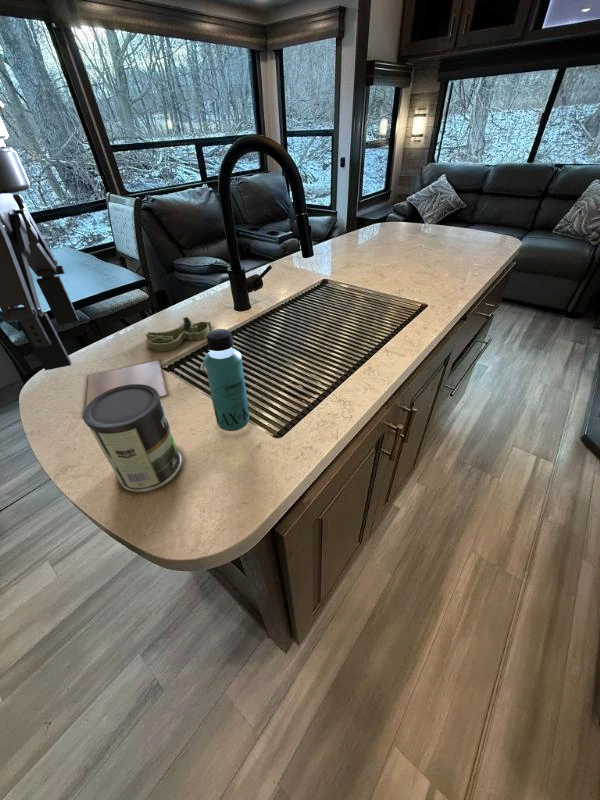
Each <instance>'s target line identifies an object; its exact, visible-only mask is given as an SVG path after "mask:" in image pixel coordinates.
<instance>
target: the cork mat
mask: <svg viewBox="0 0 600 800" xmlns="http://www.w3.org/2000/svg"><path fill="white" fill-rule="evenodd" d="M129 384H144V385H148V386H151V387H153V388H155V389H156V390H157V391H158V393H159V395H160V398H162V397H167V391H166V386H165V382H164V378H163V374H162V368H161V364H160V360H159V359H158V360H154V361H150V362H149V361H148V362H145V363H140V364H136V365H132V366H126V367H122V368H117V369H112V370H108V371H104V372H103V371H102V372H99V373H94V374H89V375H88V378H87V390H86V401H85V407H86V406H87V405H88V404H89V403H90V402H91V401H92V400H93V399H94V398H96V397H97V396H99V395H100V394H102V393H104V392H106V391H108V390H110V389H113V388H116V387H119V386H123V385H129Z"/></svg>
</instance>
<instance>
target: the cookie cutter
mask: <svg viewBox="0 0 600 800" xmlns="http://www.w3.org/2000/svg"><path fill="white" fill-rule="evenodd" d="M187 324H188V325H189V326H190V327H189V328H190V331H191V332H187V331H186V329H187ZM201 329H203V330H201ZM211 329H212V323H211V321H199V322H193V323H192V320H191V319H190V317H188V316H185V317H182V324H181V325H180V326H178V327H177V328H174V329H170V330H167V331H160V332H159V331H155V332H154V331H149V332H147V333H145V337H146V339H147V344H148V347H149V349H151V350H153V351H156V352H157V351H158V352H166V351H171V350H174V349H176V348H178V347H180V345H181V344H182V343H183V342H184V341H185V340H189V341H194V340H196V341H201V340H202V339H203V340H204V339H205V338H207V334H208V333H209V332H210V330H211ZM199 330H201V331H199ZM175 337H177V338H176V339H174V338H175Z"/></svg>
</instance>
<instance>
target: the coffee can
mask: <svg viewBox="0 0 600 800" xmlns="http://www.w3.org/2000/svg"><path fill="white" fill-rule="evenodd" d="M82 418H83V421H84V423H85V425H86V426H87V427H88V428H89V429H90V432H91V433H92V434H93V436H94V438H95V440H96V442H97V443H98V445H99V447H100V449H101V451H102V452H103V454H104V456H105V458H106V459H107V461H108V463H109V465H110V466H111V468H112V470H113V472H114V473H115V476H116V477H117V479H118V482H119V484H120V486H121V487H123V489H125V490H127V491H129V492H133V493H144V492H150V491H154V490H156V489H158V488H162V487H163V486H164V485H166V484H167V483H169V482H171V481H172V480H173V478H175V476H177V474H178V472H179V470H180V468H181V466H182V456H181V453H180V452H179V449H178V446H177V443H176V441H175V438H174V435H173V432H172V430H171V427H170V423H169V421H168V418H167V415H166V413H165V409H164V406H163V404H162V400H161V397H160V395H159V393H158V391H157V390H156V389H155V388H153V387H151V386H148V385H144V384H129V385H123V386H119V387H116V388H113V389H110V390H108V391H106V392H104V393H102V394H100V395H99V396H97V397H96V398H94V399H93V400H92V401H91V402H90V403H89V404H88V405H87V406H86V405H85V407H84V409H83V413H82Z"/></svg>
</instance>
